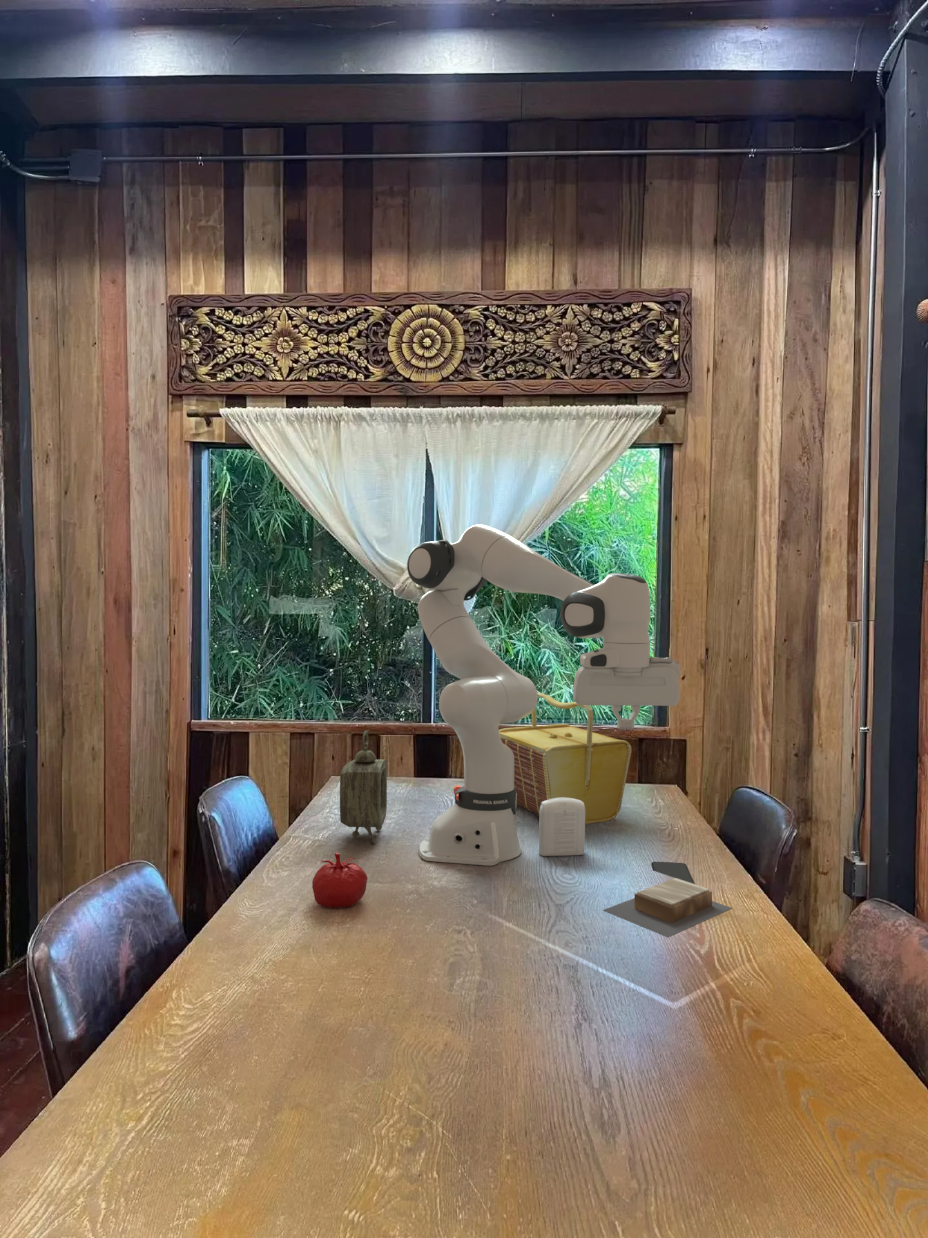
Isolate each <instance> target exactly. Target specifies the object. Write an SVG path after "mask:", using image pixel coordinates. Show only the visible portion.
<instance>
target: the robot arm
mask: <svg viewBox="0 0 928 1238" xmlns="http://www.w3.org/2000/svg"><path fill="white" fill-rule="evenodd" d="M408 554H409V555H408V557H407V561H406V570H407V574H408V576H409V578H410V580H411V581H412V582H414V583H415V584H416V585H417V586H420V587H423V588H425V589H428V590H427V592H426V593H425V594H423V595H422V597H421V598H420V599H419V601H418V603H417V612H418V613H417V614H418V616H419V620H420V624H421V627H422V628H423V632H424V634H425V635H426V638H427V640H428V642H429V643H430V645H431V647H432V649H433V651H434V653H435V655H436V656H437V658H438V661H439V662H440V664H441V666H442V667H443V669H444V670H445V671H446V672H447V673H449V674H450V675H452V676H454V677H456V678H458V679H457V680H456V681H453V682H451V683H449V684H447V685H445V686H444V688H442V690H441V693H440V696H439V700H438V701H439V702H438V707H439V712H440V715H441V717H442V719H443V721H444V722H445V723H446V724H447V725H448V726H449V727H450V728H451V729H453V730H454V732H455V734H456V736H457V737H458V740H459V742H460V746H461V749H462V755H463V774H464V775H463V777H464V779H463V780H464V783H463V784H464V786H461V785H460V784H456V785H454V787H453V794H454V804H453V805H452V806H451V807H449V808H448V809H447V810H445V811H444V812H442V813H441V814H440V815H438V816H437V817H436V818H435V819H434V820H433V822H432V824H431V827H430V830H429V836H428V837H427V838H424V839H423V840H422V841H421V842H420V844H419V850H418V851H419V852H418V854H419V857H420V858H422V859H423V860H424V861H429V862H437V863H438V862H440V863H452V864H465V865H467V864H468V865H479V866H494V865H497V864H499V863H500V862H504V861H509V860H512V859H515V858H517V857H518V856H520V854H521V853H522V848H521V845H520V841H519V836H518V831H517V830H518V829H517V823H516V813H517V809H518V808H517V805H518V804H517V793H516V788H515V787H514V754H513V752H512V750H511V749H510V748H509V747H508V746H506V745H505V744H503V743H502V741H501V738H500V735H499V730H500V729H499V727H500V725H503V724H510V723H515V722H518V721H520V720H522V719H524V718H526V717H528V716H530V715H532V712H533V711H534V709H535V707H536V708H537V705H538V696H537V693H538V691H537V688H536V686H535V684H534V683H533V681H532V680H531V679H530V678H529V677H527V676H525V675H522V674H521V673H519V672H517V671H515V670H514V669H512V668H511V666H509V665H508V664H507V663H505V662H504V661H503V660H502V659H501V658H500V657H499V656H498V655H497V654H496V653H495V652H494V651H493V649H491V647H489V645H488V643H487V642H486V640H484V638H483V636H482V635H481V633H480V631H479V629H478V628H477V626H476V625H475V623H474V621H473V619H472V617H471V616H470V614H469V613H468V611H467V609H466V607H465V604H464V602H465V601H470V600H472V599H474V597H475V596H476V594H477V593H478V592H480V590H481V589H482V588H483V587H484V586H485V584H486V583H487V581H488V582H489V583H491V584H492V585H494V586H495V587H498V588H500V589H503V590H505V591H508V592H512V593H513V592H514V593H521V594H522V593H523V594H524V593H525V594H537V595H544V596H550V597H554V598H555V599H556V598H557V599H558V600H560V601H563V602H562V603H561V607H560V612H559V613H560V614H559V616H560V621H561V624H562V627H563V629H564V630H565V632H567V633H568V634H569V635H570V636H572V637H574V638H577V639H578V638H579V639H600V638H602V639H603V647H601V648H598V649H594V650H591V651H588V652H585V653H582V654H581V655H580V656H579V663H580V665H581V666H580V667H578V669H577V671H576V673H575V676H574V682H573V689H572V690H573V691H572V699H573V702H576V703H577V704H578V705H589V706H611V711H612V712H613V714H614V715H615V718H616V719H617V720H616V721H617V724H616V727H617V729H618V730H622V729H623V730H629V729H630V730H634V729H635V720H636V718H637V717H638V715H639V714H640V713H641V707H642V706H643V707H644V706H645V707H646V706H653V707H655V706H656V707H660V706H661V707H676V706H677V705H678V704H679V702H680V700H681V695H680V694H681V693H680V692H681V691H680V685H679V684H680V683H679V678H680V677H681V665H680V663H679V662H678V661H677V660H676V659H674V658H673V657H651V655H650V654H651V640H650V636H649V625H650V623H651V597H650V589H649V585H648V583H647V581H646V580H645V579H644V577H642V576H639V575H635V574H629V573H622V572H611V573H609V574H607V575H606V576H605V577H604V579H602V580H601V581H599V582H597V583H596V584H595V583H592V582H591V581H589V580H586V579H585V578H583V577H581V576H579V575H577V574H575V573H573V572H572V571H569V570H568V569H565V568H564V567H562V566H559V565H558V564H556V563H555V562H553V561H551V560H550V559H548V558H547V557H545V556H544V555H542V554H540V553H538V552H537V551H535V550H534V549H532V548H531V547H529V546H528V545H527V544H525V543H523V542H522V541H520V540H518V539H517V538H515V537H514V536H511V535H510V534H508V533H507V532H503V531H502V530H500V529H497V528H495V527H491V526H489V525H485V524H479V523H477V524H474V525H472V526H469V527H468V528H467V529H466V530H464V532H463V533H462V534H461V536H460V538H459V540H458V541H456V542H453V543H451V542H449V541H448V540H447V539H441V540H432V541H426V542H421V543H419V544H417V545H416V546H414V547H413V549H412V550H411V551H410V553H408ZM622 706H629V707H630V710H631V711H632V712H631V713H630V716H629V717H628V718H622V717H621V715H620V713H619V712H621V710H622V709H621V707H622Z"/></svg>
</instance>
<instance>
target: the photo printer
mask: <svg viewBox="0 0 928 1238" xmlns="http://www.w3.org/2000/svg"><path fill="white" fill-rule="evenodd" d="M538 816H539V817H538V818H539V824H538V855H540V856H542V857H548V856H549V857H552V856H555V857H557V856H558V857H559V856H584V855H585V845H586V844H585V841H586V839H585V838H586V834H585V833H586V824H585V806H584V803H583V802H582V801H580V800H577V799H573V798H563V797H562V798H553V799H549V800H546V801H543V802H541V805H540V811H539V815H538Z"/></svg>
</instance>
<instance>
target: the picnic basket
mask: <svg viewBox="0 0 928 1238" xmlns="http://www.w3.org/2000/svg"><path fill="white" fill-rule="evenodd" d="M537 697H539V698H543V699H544V700H545V701H546V702H547V703H548V704H549V705H551V706H552V707H555V708H558V709H563V710H571V709H574V708H575V707H580V708H584V709H585V710H586V712H587V727H586V729H583V728H580V727H576V726H574V725H570V724H568V723H556V724H555V723H553V724H543V725H537V706H536V707H535V709H534V711H533V712H532V713H531V725H530V726H520V727H505V728H501V729H499V735H500V738H501V741H502V743H503V744H505V745H506V746H508V747H509V748H510V749H511V750H512V752H513V754H514V787H515V788H516V793H517V805H518V806H520V807H522V808H523V809H526V810H528V811H530V812H532V813H533V814H535V815H537V816H539V811H540V805H541V802H543V801H546V800H549V799H553V798H562V797H563V798H573V799H577V800H580V801H582V802H583V803H584V806H585V825H590V824H598V823H604V822H608V821H612V820H613V819H614V818H616V817H617V816H618V814H620V810H621V808H622V802H623V798H624V793H625V792H624V791H625V787H626V781H627V778H628V771H629V766H630V761H631V755H632V746H631V744H630V742H628V741H626V740H623V739H618V738H614V737H611V736H608V735H604V734H601V733H597V732H593V730H594V729H593V727H594V713H593V709H592V708H591V705H578V704H577V703H576V702H575V701H571V702H569V701H568V702H561V701H558V700H556V699H555V698H553V697H551V696H550V695H548V694H545V693H541V692H537Z"/></svg>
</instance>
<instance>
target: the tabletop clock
mask: <svg viewBox="0 0 928 1238" xmlns="http://www.w3.org/2000/svg"><path fill="white" fill-rule="evenodd" d="M365 740H366V741H365ZM361 745H362V750H360V751H358V752H357V753H356V754H355V756H354V759H353V760H350V761H348V762H347V763H346V764H345V765H344V766H343V767H342V769H341V772H340V775H339V776H340V777H339V819H340V820H339V821H340V823H342V825H345V826H347V827H348V828H355V830H354V831H352V833H351V836H352V837H353V839H354V838H355V839H357V838H358V837H359V835H360V832H359V828H364V829H365V830H366V832H367V834H368V836H369V839H368V842H369V844H370V845H372V846H373V845H376V843H377V840H376V838H375V837H374V836H373V834H372V829H371V828H375V829H376V831H381V830H382V828H383V824H384V823H385V821H386V816H387V809H388V807H387V806H388V804H387V803H388V801H387V800H388V797H387V796H388V767H387V766H388V765H387V760H386V759H385V758H384V759H377V756H376V755H375V753H374V751H372V750H369V749H368V748H369V732H368V730H364V732H363V733H362V741H361Z"/></svg>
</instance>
